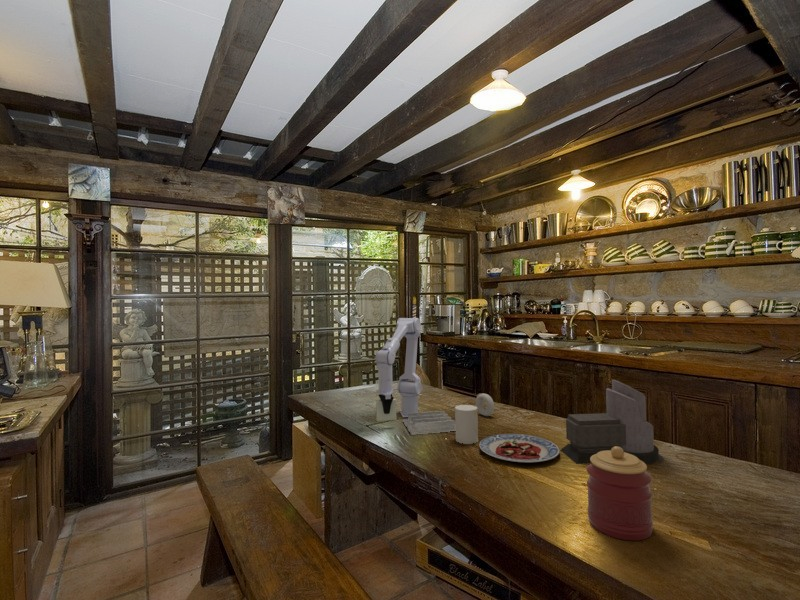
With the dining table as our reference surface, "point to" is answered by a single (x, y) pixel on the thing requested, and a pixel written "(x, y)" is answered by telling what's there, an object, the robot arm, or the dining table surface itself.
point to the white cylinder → (466, 424)
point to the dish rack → (429, 422)
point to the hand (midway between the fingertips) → (386, 412)
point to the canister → (619, 495)
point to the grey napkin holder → (613, 428)
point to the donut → (489, 403)
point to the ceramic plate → (519, 448)
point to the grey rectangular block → (380, 413)
